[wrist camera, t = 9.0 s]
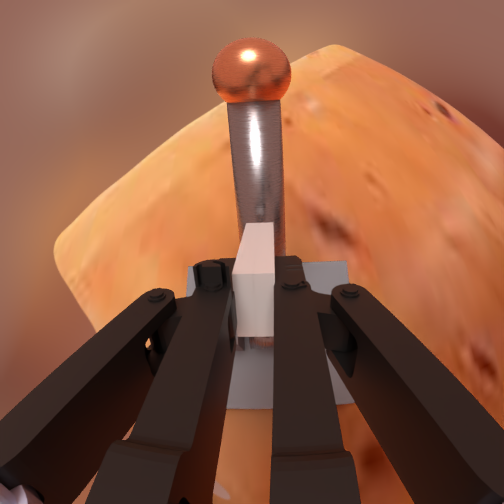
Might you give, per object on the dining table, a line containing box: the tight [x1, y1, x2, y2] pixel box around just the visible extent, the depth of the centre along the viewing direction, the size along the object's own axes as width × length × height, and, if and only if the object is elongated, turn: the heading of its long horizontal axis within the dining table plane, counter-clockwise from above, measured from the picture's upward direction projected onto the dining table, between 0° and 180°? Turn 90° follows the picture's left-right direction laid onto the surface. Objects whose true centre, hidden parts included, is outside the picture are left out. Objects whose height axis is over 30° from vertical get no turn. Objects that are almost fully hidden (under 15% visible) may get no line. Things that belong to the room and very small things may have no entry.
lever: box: [212, 38, 291, 349], centre depth 19 cm, size 4×4×23 cm
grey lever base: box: [186, 261, 355, 409], centre depth 27 cm, size 14×16×9 cm
